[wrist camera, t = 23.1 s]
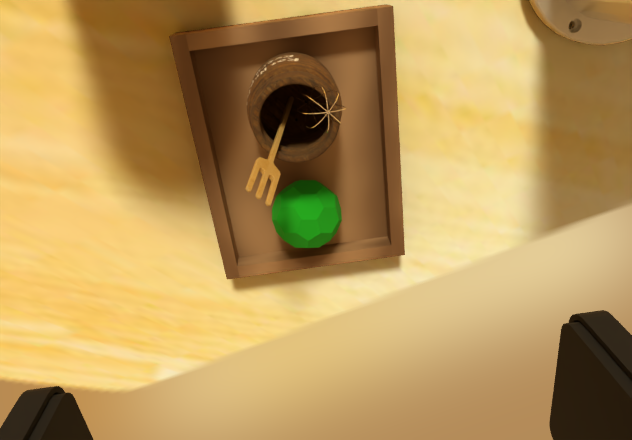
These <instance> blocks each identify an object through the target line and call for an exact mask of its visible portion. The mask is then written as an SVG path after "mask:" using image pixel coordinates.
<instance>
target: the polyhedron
mask: <svg viewBox="0 0 632 440" xmlns="http://www.w3.org/2000/svg"><path fill="white" fill-rule="evenodd" d="M272 221H273V224H274V227H275V230H276V232H277V234H278V235H279V236H280V237H281V238H282V239H283V240H284V241H286V242H287V243H289V244H290V245H292V246H293V247H295V248H319V247H321V246H322V245H324V244H325V243H327V242H329V241H330V240H331V239H332V238H333V237H334V235H335V234H336V233H337V230H338V228H339V226H340V223H341V221H342V216H341V207H340V204H339V200H338V197H337V195H335V194H334V193H333V192H332V191H331V190H330V189H328V188H327V187H325V186H324V185H323V184H321V183H320V182H318V181H316V180H299V181H295V182H293V183H292V184H290V185H289V186H287V187H286V188H284V189H283V190H282V191H281V192H280V193H279V194H278V195H277V196H276V199H275V202H274V204H273V207H272Z"/></svg>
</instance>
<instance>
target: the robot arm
mask: <svg viewBox="0 0 632 440" xmlns="http://www.w3.org/2000/svg"><path fill="white" fill-rule="evenodd" d="M529 1H530V3H531V5H532V7H533V9H534V11H535V13H536V14H537V15H538V17H539V18H540V19H541V20H542V21H543V23H544V24H545V25H546V26H548V27H549V28H550V29H551V30H553V31H554V32H555V33H557V34H558V35H561V36H563V37H565V38H567V39H570V40H572V41H577V42H581V43H585V44H595V45H607V44H615V43H621V42H624V41H627V40H630V39H632V0H529ZM570 22H571V26H570V27H569V24H570ZM550 431H551V434H552V437H553V440H632V335H631V334H630V333H629V332H628V331H627V330H626V329H625V328H624V327H623V326H622V325H621V324H620V323H619V322H618V321H617V320H616V319H615V318H614V317H613V316H612V315H611V314H610V313H609V312H607V311H604V310H602V311H595V312H587V313H580V314H575V315H572V316H571V317H570V320H569V323H566V324H563V326H562V329H561V336H560V343H559V351H558V359H557V367H556V375H555V383H554V392H553V399H552V407H551V415H550ZM0 440H93V438H92V435H91V433H90V431H89V429H88V427H87V425H86V422H85V420H84V418H83V416H82V414H81V412H80V409H79V407H78V405H77V403H76V400H75V398H74V397H73V395H72V394H71V393H65V392H64V390H63V389H62V388H61V387H59V386H55V387H48V388H40V389H34V390H27V391H25V392H24V393H23V394H22V395H21V396H20V397H19V399H18V401H17V402H16V404H15V405H14V407H13V408H12V410H11V412H10V413H9V415H8V417H7V418H6V420H5V422H4V423H3V425H2V426H1V428H0Z"/></svg>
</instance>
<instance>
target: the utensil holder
mask: <svg viewBox="0 0 632 440" xmlns="http://www.w3.org/2000/svg"><path fill="white" fill-rule="evenodd" d="M342 107H345V106H342V101H341V96H340V92H339V89H338V87H337V85H336V82H335V81H334V79H333V77H332V75H331V74H330V72H329V71H328V69H327V68H326V67H325V66H324V65H323V64H322V63H321V62H319V61H318V60H317V59H315V58H313V57H311V56H309V55H306V54H303V53H296V52H290V53H283V54H280V55H277V56H275V57H273V58H271V59H269V60H268V61H267V62H265V63H264V64H263V65H262V66H261V67H260V68H259V70H258V71H257V73H256V74H255V76H254V78H253V80H252V83H251V86H250V89H249V93H248V99H247V115H248V120H249V123H250V126H251V128H252V130H253V133H254V135H255V137H256V139H257V141H258V143H259V144H260V145H261V147H262V148H263V149H264V150H265V151H266V152H267V153H268V154H269V156H268V159H264V158H261V157H259V158H257V160H256V161H255V164H254V166H253V169H252V172H251V175H250V177H249V180H248V183H247V186H246V188H245V189H246V191H247V192H251V190H252V188H253V185H254V183H255V180H256V177H257V175H258V172H261V173H262V177H261V180H260V183H259V186H258V189H257V192H256V195H255V196H256V198H257V199H261V197H262V194H263V191H264V189H265V186H266V183H267V180H268V178H269V179H270V180H271V184H270V188H269V191H268V195H267V198H266V202H265V204H266V205H267V206H271V203H272V200H273V197H274V194H275V191H276V187H277V184H278V181H279V178H280V175H281V174H280V171H279V170H278V169H277V167H276V166H275V165H274V159H275V158H277V159H279V160H282V161H285V162H290V163H301V162H306V161H310V160H313V159H315V158H317V157H319V156H320V155H322V154H323V153H324V152H325V151H326V150H327V149H328V148H329V147H330V146H331V145H332V143H333V142H334V140H335V138H336V136H337V133H338V130H339V126H340V124H341V123H340V121H341V116H342V110H344V109H346V107H345V108H344V109H342Z"/></svg>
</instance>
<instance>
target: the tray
mask: <svg viewBox="0 0 632 440" xmlns="http://www.w3.org/2000/svg"><path fill="white" fill-rule="evenodd" d="M169 37H170V41H171V45H172V49H173V54H174V58H175V62H176V66H177V71H178V75H179V79H180V83H181V87H182V92H183V96H184V100H185V104H186V108H187V113H188V117H189V121H190V125H191V130H192V134H193V138H194V142H195V146H196V151H197V155H198V159H199V163H200V168H201V172H202V176H203V180H204V184H205V189H206V193H207V197H208V201H209V205H210V210H211V214H212V218H213V222H214V227H215V231H216V235H217V239H218V243H219V248H220V252H221V256H222V260H223V265H224V269H225V273H226V277H227V279H233V278H240V277H247V276H254V275H262V274H269V273H276V272H283V271H291V270H298V269H305V268H312V267H320V266H327V265H334V264H341V263H349V262H356V261H363V260H370V259H378V258H385V257H392V256H399V255H405V250H404V229H403V207H402V186H401V165H400V143H399V122H398V101H397V79H396V58H395V36H394V15H393V6H390V5H379V6H372V7H365V8H357V9H350V10H342V11H335V12H327V13H320V14H313V15H305V16H298V17H290V18H283V19H275V20H268V21H261V22H253V23H246V24H238V25H231V26H223V27H216V28H209V29H201V30H194V31H186V32H179V33H175V34H173V35H171V36H169ZM290 52H296V53H303V54H306V55H309V56H311V57H313V58H315V59H317V60H318V61H319V62H321V63H322V64H323V65H324V66H325V67H326V68H327V69H328V71H329V72H330V74H331V75H332V77H333V79H334V81H335V82H336V85H337V87H338V89H339V92H340V96H341V101H342V106H345V107H346V109H344V108H345V107H342V109H344V110H342V116H341V121H340V123H341V124H340V126H339V130H338V133H337V136H336V138H335V140H334V142H333V143H332V145H331V146H330V147H329V148H328V149H327V150H326V151H325V152H324V153H323V154H322V155H320V156H319V157H317V158H315V159H313V160H310V161H306V162H301V163H290V162H285V161H282V160H279V159H277V158H275V159H274V165H275V166H276V167H277V169H278V170H279V171H280V174H281V175H280V178H279V181H278V184H277V187H276V191H275V194H274V197H273V200H272V203H271V206H267V205H266V204H265V202H266V198H267V195H268V191H269V188H270V184H271V180H270V179H269V178H268V180H267V183H266V186H265V189H264V191H263V194H262V197H261V199H257V198H256V196H255V195H256V192H257V189H258V186H259V183H260V180H261V177H262V173H261V172H258V175H257V177H256V180H255V183H254V185H253V188H252V190H251V192H247V191H246V189H245V188H246V186H247V183H248V180H249V177H250V175H251V172H252V169H253V166H254V164H255V161H256V160H257V158H259V157H261V158H264V159H268V156H269V154H268V153H267V152H266V151H265V150H264V149H263V148H262V147H261V145H260V144H259V143H258V141H257V139H256V137H255V135H254V133H253V130H252V128H251V126H250V123H249V120H248V115H247V99H248V93H249V89H250V86H251V83H252V80H253V78H254V76H255V74H256V73H257V71H258V70H259V68H260V67H261V66H262V65H263V64H264V63H265V62H267V61H268V60H269V59H271V58H273V57H275V56H277V55H280V54H283V53H290ZM299 180H316V181H318V182H320V183H321V184H323V185H324V186H325V187H327V188H328V189H330V190H331V191H332V192H333V193H334V194H335V195H337V197H338V200H339V204H340V207H341V216H342V221H341V223H340V226H339V228H338V230H337V233H336V234H335V235H334V237H333V238H332V239H331V240H330V241H329V242H327V243H325V244H324V245H322V246H321V247H319V248H295V247H293V246H292V245H290V244H289V243H287V242H286V241H284V240H283V239H282V238H281V237H280V236H279V235H278V234H277V232H276V230H275V227H274V224H273V221H272V207H273V204H274V202H275V199H276V196H277V195H278V194H279V193H280V192H281V191H282V190H283V189H284V188H286V187H287V186H289V185H290V184H292V183H293V182H295V181H299Z"/></svg>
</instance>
